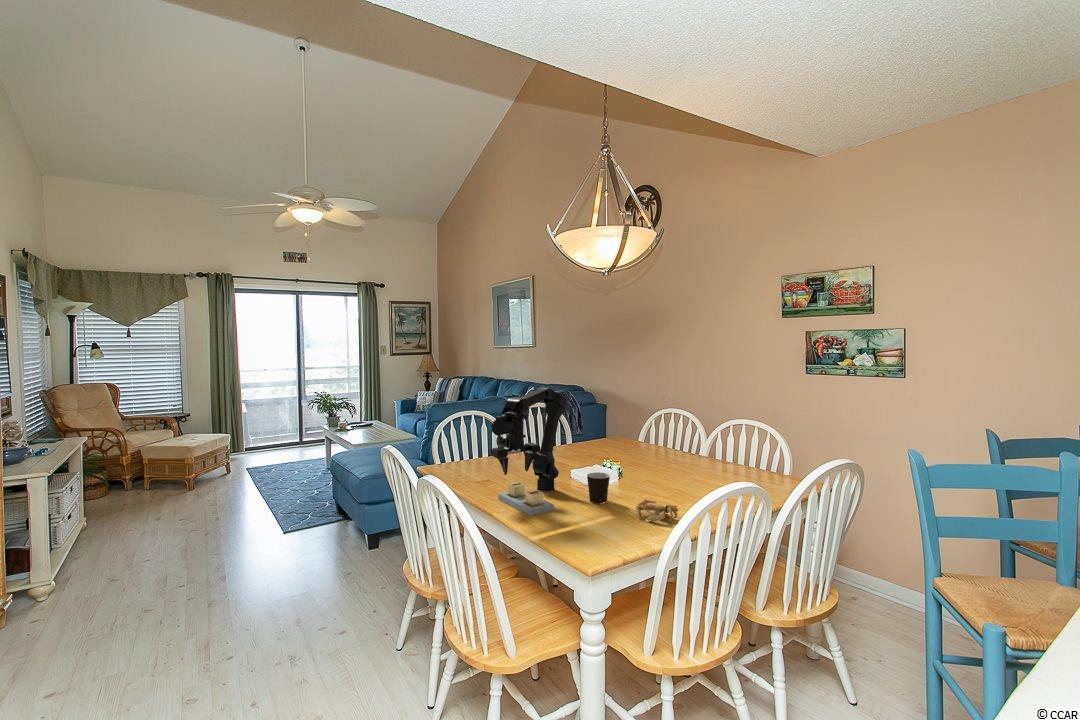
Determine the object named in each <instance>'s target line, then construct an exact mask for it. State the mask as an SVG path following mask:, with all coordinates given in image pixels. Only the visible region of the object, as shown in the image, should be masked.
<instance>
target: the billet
mask: <svg viewBox="0 0 1080 720" xmlns="http://www.w3.org/2000/svg"><path fill="white" fill-rule="evenodd" d="M507 487H508V490H507V492H508V495H509V496H510V497H512V498H518V497H523V496H525V492H526V491H525V489H526V487H525V484H524V483H521V482H518V481H517V482H511V483H508V486H507Z"/></svg>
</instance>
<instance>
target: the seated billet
mask: <svg viewBox="0 0 1080 720" xmlns="http://www.w3.org/2000/svg"><path fill="white" fill-rule="evenodd" d="M525 492H526V505H528V506H530V507H536V506H540V505H543V500H544V494H543V491H541V490H537V489H534V490H529V491H525Z"/></svg>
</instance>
